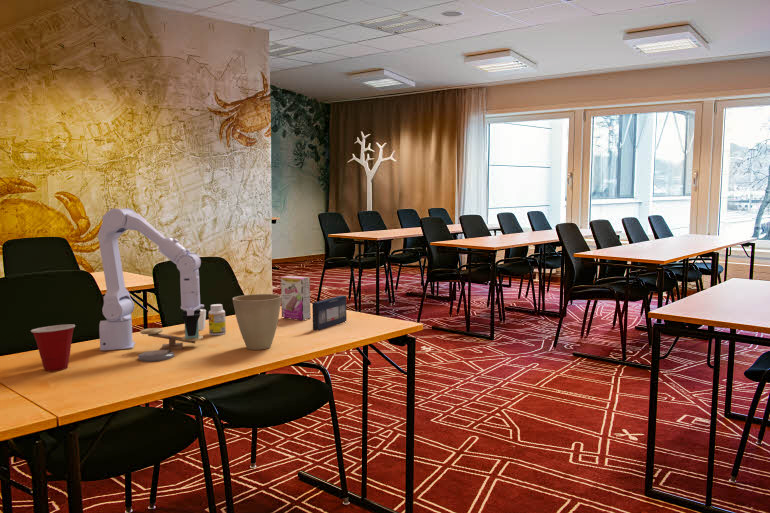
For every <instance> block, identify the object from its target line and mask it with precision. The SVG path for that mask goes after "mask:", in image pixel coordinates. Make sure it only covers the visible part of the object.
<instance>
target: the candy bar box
mask: <svg viewBox="0 0 770 513" xmlns="http://www.w3.org/2000/svg"><path fill="white" fill-rule="evenodd" d="M310 279H311V278H310V277H306V276H294V275H286V276H280V296H281V305H280V307H281V318H282V317H284V318H283V319H286V318H291V319H290V320H294V319H297V321H302V320H304V321H306V320H305V319H308V318H311V285H310V283H311V280H310ZM308 320H309V319H308Z"/></svg>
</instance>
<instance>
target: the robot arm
mask: <svg viewBox="0 0 770 513" xmlns="http://www.w3.org/2000/svg"><path fill="white" fill-rule="evenodd" d="M101 219H102V223H101V225H100V228H99V231H98V233H97V237H98V243H99V244H98V245H99V250H100V256H101V261H102V262H101V263H102V269H103V274H104V281H105V287H106V291H105V294H104V296H103V304H102V305H103V306H102V308H101V309H102V315H103V316H104V318H105V320H100V321H99V327H98V328H99V329H98V330H99V333H98V334H99V348H100V349H99V351H113V350H114V351H115V350H125V349H134V346H135V345H136V341H133V324H132V323H133V321H132V313H133V312H134V310H135V303H134V300H133V299H132V298H131V295H130V291H128V289H127V288H126V284H125V279H124V278H125V277H124V271H123V265H122V258H121V253H120V246H119V240H118V239H120V237H121V236H122V235H123V233H125V232H126V231H129V230H130V231H131V230H132V231H137V232H139V233H140V234H141V235H143V236H144V237H146V238H147V239H148V240H150V241H151V242H153V244H155V245H156V246H158V251H159V253H160V254H162V255H163V256H164V257H166V258H167V259H168V260H170V261H171V262H172V263H173V264H175V265H176V268H177V270H178V271H179V276H180V278H179V283H180V284H179V285H180V309H181V310H183V311H182V312H181V318H182V320H183V322H184V326H185V325H186V329H187V333H188V336H195V335H196V328H197V322H198V319H199V317H200V309H203V308H204V307H205V304H201V294H200V293H201V292H200V271H199V269H200V267H201V266H202V265H201V263H202V260H201V257H200V256H199V255H198V253H195V252H191V250H190V248H186V247H184V245H182V244H181V243H179V239H177V238H173V237H165V235H163V234H162V233H161V232H160V231H159V230H158V229H156V227H154V226H153V225H152V224H150V223H149V222H148V221H147V220H146V219H145V218H144V217H143V216H142V215H141V214H139V213H138V212H136V211H134V210H133V209H132V208H128V207H127V208H126V207H125V208H115V207H114V208H111V209H109V210H108V211H107V212H105V214H104V215H103V216H102V217H101Z"/></svg>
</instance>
